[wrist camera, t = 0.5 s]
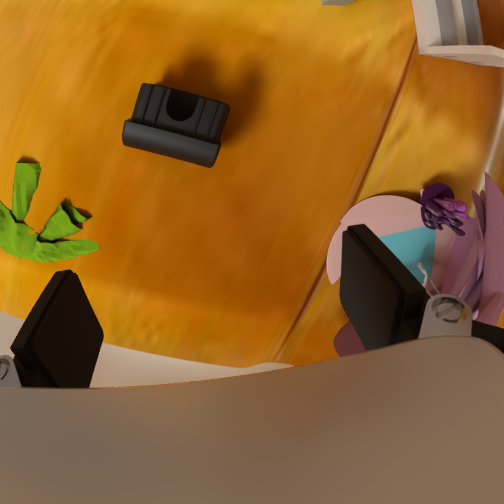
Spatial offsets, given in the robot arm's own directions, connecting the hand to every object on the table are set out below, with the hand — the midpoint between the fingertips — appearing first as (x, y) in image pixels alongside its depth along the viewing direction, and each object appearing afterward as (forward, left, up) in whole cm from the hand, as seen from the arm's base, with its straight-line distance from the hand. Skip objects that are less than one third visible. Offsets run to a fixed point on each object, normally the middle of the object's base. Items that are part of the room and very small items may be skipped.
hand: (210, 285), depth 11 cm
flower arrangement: (+20, +23, -29) cm, 42 cm away
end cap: (-3, -3, -29) cm, 30 cm away
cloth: (+4, -25, -30) cm, 39 cm away
